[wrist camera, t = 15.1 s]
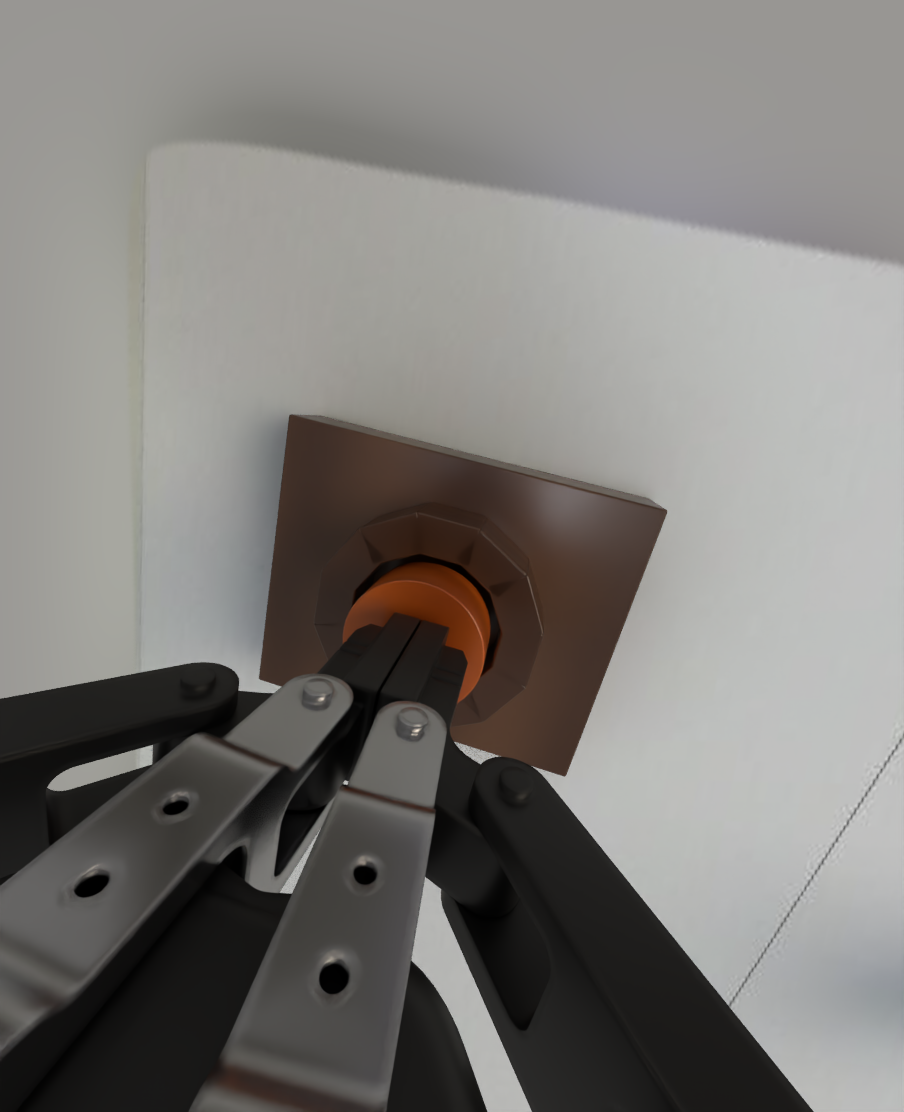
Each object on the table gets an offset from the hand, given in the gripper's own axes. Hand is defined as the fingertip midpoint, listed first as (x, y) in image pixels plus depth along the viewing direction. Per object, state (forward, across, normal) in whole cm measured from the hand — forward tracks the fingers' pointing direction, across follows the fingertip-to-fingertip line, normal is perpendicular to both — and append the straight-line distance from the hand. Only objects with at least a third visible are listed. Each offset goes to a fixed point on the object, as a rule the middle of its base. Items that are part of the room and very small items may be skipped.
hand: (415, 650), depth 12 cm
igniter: (+6, 0, 0) cm, 6 cm away
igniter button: (+2, 0, 0) cm, 2 cm away
